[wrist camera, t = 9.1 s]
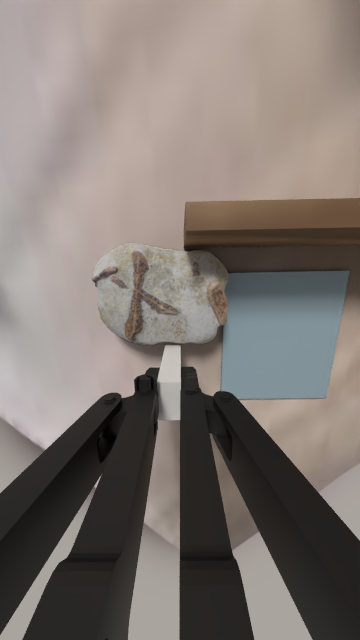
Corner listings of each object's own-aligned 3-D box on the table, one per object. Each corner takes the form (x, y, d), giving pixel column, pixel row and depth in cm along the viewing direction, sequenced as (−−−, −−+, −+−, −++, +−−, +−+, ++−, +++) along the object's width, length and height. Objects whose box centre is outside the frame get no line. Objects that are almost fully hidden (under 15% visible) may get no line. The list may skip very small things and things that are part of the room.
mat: (224, 273, 17) (225, 272, 17) (346, 270, 17) (349, 270, 17) (220, 397, 20) (220, 399, 20) (324, 396, 20) (326, 397, 20)
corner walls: (183, 229, 16) (185, 202, 11) (437, 224, 16) (580, 193, 10) (185, 398, 20) (188, 445, 15) (390, 395, 20) (475, 441, 14)
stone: (106, 339, 18) (90, 349, 15) (100, 247, 17) (80, 236, 14) (221, 340, 18) (230, 351, 15) (225, 247, 17) (236, 236, 13)
